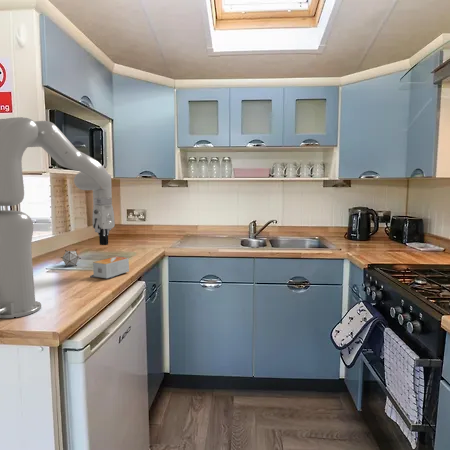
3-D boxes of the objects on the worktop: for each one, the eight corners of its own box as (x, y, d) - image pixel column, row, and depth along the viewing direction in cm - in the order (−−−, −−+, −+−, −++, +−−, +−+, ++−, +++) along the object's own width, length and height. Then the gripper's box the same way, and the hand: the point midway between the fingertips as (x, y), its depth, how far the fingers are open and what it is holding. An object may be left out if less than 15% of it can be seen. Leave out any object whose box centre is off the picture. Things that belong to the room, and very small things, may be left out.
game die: (67, 273, 164) (56, 257, 165) (83, 264, 170) (72, 248, 170) (69, 268, 157) (57, 250, 158) (85, 259, 162) (74, 242, 163)
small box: (92, 261, 141) (115, 256, 153) (93, 276, 142) (116, 269, 154) (106, 263, 138) (128, 257, 149) (107, 278, 138) (129, 271, 150)
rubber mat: (111, 278, 141) (111, 277, 141) (90, 277, 143) (90, 275, 143) (124, 271, 152) (124, 270, 152) (104, 270, 154) (104, 269, 154)
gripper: (100, 202, 135) (101, 247, 136) (119, 202, 149) (120, 242, 151) (83, 202, 136) (85, 247, 138) (104, 202, 151) (106, 242, 152)
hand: (103, 244), depth 144 cm, fingers closed
